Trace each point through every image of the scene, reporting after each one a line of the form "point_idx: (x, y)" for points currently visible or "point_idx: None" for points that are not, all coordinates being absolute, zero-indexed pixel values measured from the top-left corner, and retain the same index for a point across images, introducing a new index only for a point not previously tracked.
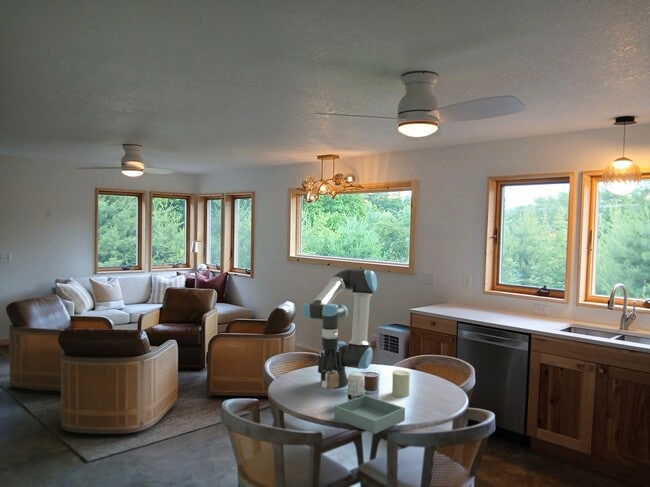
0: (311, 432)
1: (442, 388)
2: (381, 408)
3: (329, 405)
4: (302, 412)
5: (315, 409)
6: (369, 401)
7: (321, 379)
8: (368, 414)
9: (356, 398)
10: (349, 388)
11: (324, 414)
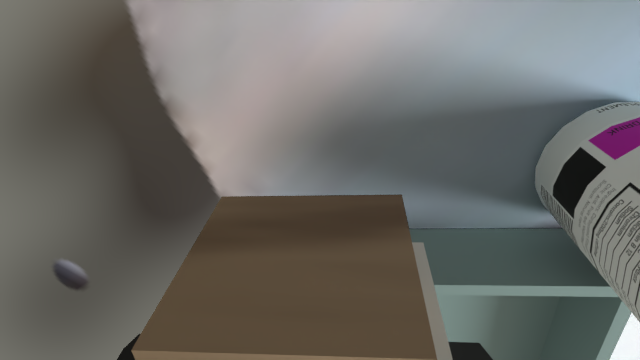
0: (72, 267)
1: None
2: (554, 356)
3: (429, 44)
4: (151, 12)
5: (276, 34)
6: (590, 302)
7: (125, 350)
8: (457, 322)
9: (517, 289)
10: (616, 230)
11: (270, 152)
